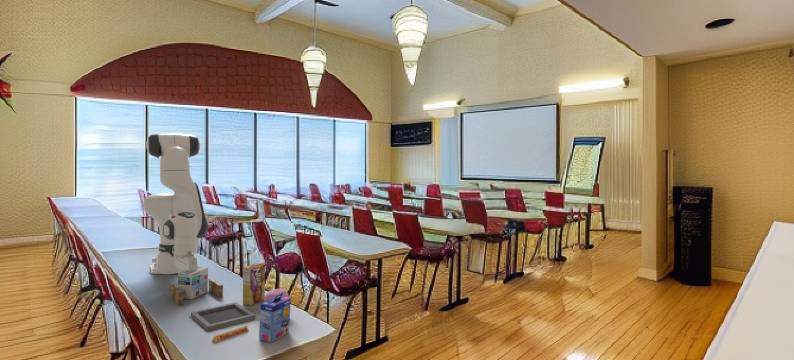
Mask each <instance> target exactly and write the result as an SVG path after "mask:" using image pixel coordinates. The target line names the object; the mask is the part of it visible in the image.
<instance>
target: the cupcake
mask: <svg viewBox="0 0 794 360" xmlns="http://www.w3.org/2000/svg"><path fill="white" fill-rule="evenodd" d="M281 293H283V295H282V296H284V297H288V298H290V296H289V293H288V292H287V291H286V289H283V288H274V289H271V290H269V291H267V293H265V299H263V301H264V302H265V301H267V300H270V299H272V298H274V297H276V296H277V295H279V294H281Z"/></svg>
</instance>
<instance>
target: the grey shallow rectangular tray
mask: <svg viewBox="0 0 794 360" xmlns="http://www.w3.org/2000/svg"><path fill="white" fill-rule="evenodd" d="M256 315H257V314H255V313H253V312H252V311H251V310H249V309H248V308H246V307H244V306H243V305H241V304H240V303H238V302H237V301H235V302H231V303H227V304H223V305H218V306H213V307H208V308H205V309H204V308H203V309H199V310H195V311H190V317H191V318H192V319H193V320H194V321H195V322H197V323H198V325H200V326H201V327H203V328H204V330H206V332H209V331H213V330H217V329H221V328H225V327H229V326H234V325H237V324H240V323H245V322H249V321H253V320H256V318H257V317H256Z"/></svg>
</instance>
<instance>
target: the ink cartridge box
mask: <svg viewBox="0 0 794 360" xmlns="http://www.w3.org/2000/svg"><path fill="white" fill-rule="evenodd" d="M282 295H283V293H281V294H279V295H277V296H276V297H274V298H272V299H270V300H267V301H265V302H262V303H260V308H259V309H260V311H259V312H260V314H259V330H258V331H259V333H258V340H261V341H265V342H267V343H270V344H271V343H273V342H275V341H277V340H278V339H280V338H282V337H283V336H285V335H287V334H289V331H290V320H291V319H290V318H291V316H290V314H291V303H292V302H291V299H292V298H291V297H289V298H288V297H284V296H282ZM286 333H287V334H286Z"/></svg>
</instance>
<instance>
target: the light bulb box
mask: <svg viewBox="0 0 794 360" xmlns="http://www.w3.org/2000/svg"><path fill="white" fill-rule="evenodd" d="M177 274H178V276H177V278H178V282H177V285H178V286H177V288H178V289H180V290H181V291H182V292H183V299H188V300H193V299H195V298H198V297H200V296H202V295H204V294H206V293H208V292H209V267H202V266H198V270H197V271H190V272H189V271H187V270H184V271H181V272H178V273H177Z"/></svg>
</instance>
